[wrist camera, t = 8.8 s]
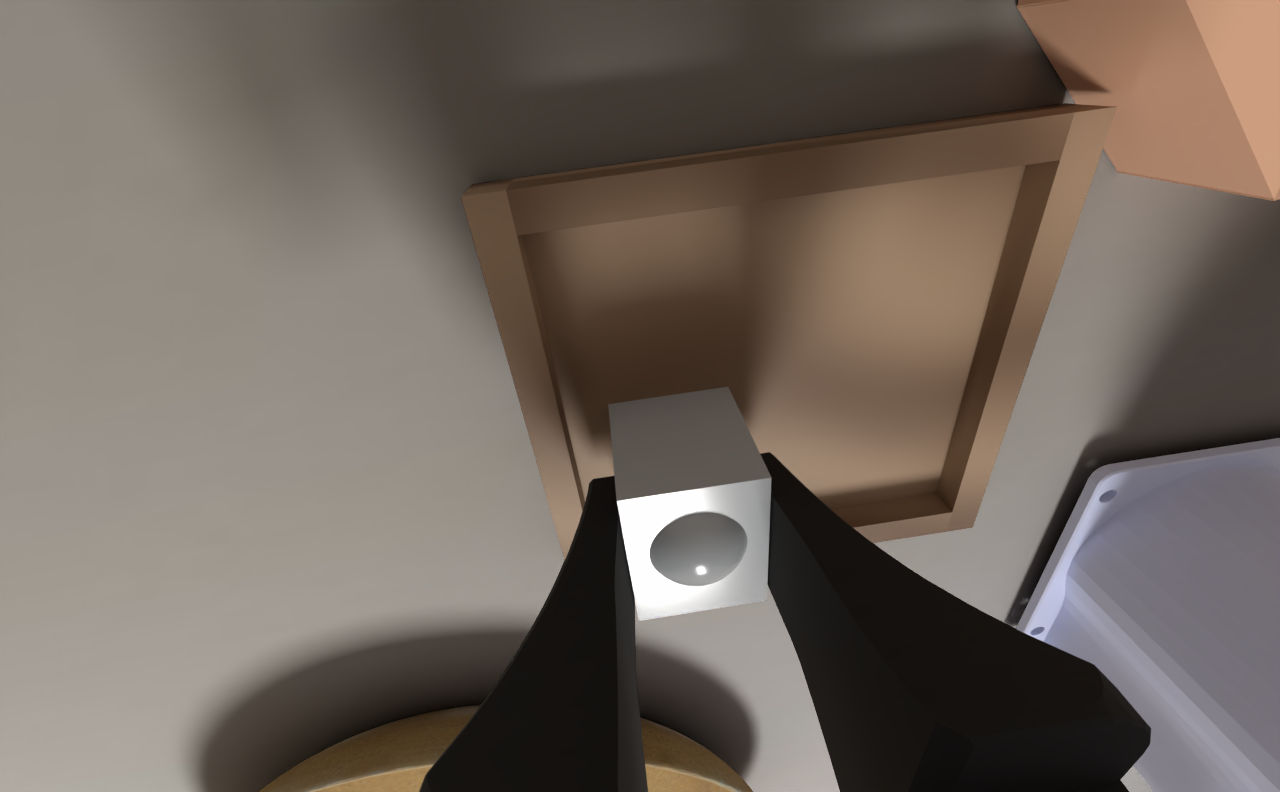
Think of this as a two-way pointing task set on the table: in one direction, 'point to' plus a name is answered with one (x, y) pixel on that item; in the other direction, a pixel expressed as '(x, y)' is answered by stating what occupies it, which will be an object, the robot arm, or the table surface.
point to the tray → (797, 301)
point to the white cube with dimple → (690, 502)
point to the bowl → (1175, 84)
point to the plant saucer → (406, 749)
